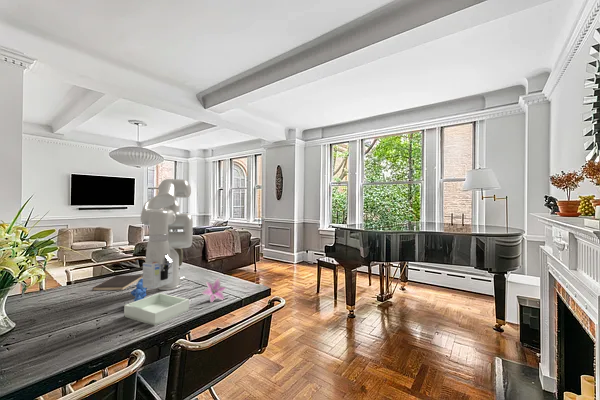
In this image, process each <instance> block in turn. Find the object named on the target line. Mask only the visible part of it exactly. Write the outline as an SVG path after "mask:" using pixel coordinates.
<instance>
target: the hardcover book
mask: <svg viewBox="0 0 600 400" xmlns="http://www.w3.org/2000/svg"><path fill="white" fill-rule="evenodd" d="M140 279H143V274H141V275H140V274H138V275H137V274H135V275H131V274H129V275H125V274H123V275H116V276H114V277H111V278H109V279H108V280H105V281H103V282H101V283H99V284H98V285H94V286H93V287H92V291H122V290H125V289H127V288H128V287H129V286H131V285H133V284H135V283H136V282H138V281H139V280H140Z"/></svg>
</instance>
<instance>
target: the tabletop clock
mask: <svg viewBox="0 0 600 400" xmlns="http://www.w3.org/2000/svg"><path fill="white" fill-rule="evenodd" d="M174 250H175V251H176V252H177V253H178V255H179V271H180V270H181V268H180V266H182V265H183V263H184V261H183V259H184V251H183V248H175V249H174Z"/></svg>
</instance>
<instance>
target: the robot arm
mask: <svg viewBox="0 0 600 400" xmlns="http://www.w3.org/2000/svg"><path fill="white" fill-rule="evenodd" d="M157 190H158V192H157V194H156V195H155V196H153V197H152V198H150V199H148V200H147V201H146V202H145V203H144V205H143V206H142V210H141V214H140V222H141V223H142V225H144V226H148V241H147V244H146V251H145V258H144V261H145V262H157V263H158V265H161V269H162V271H161V280H165V279H168V270H169V268H170V266H171V264H172V263H173V282H172V283H169V284H166V285H163V286H160V287H158V288H157V290H161V291H171V290H176V289H178V288H181V287H182V281H184V280H186V277H185V276H179V275H180V272H179V271H180V270H179V268H180V266H179V255H178V253H177V252H176V251H175V250H174V249H175V248H182V249H187V248H191V247H192V244H193V228H194V227H193V224H194V223H193V216H192V215H191V214H190V213H187V212H186V213H180V204H179V202H178V201H177V200H176V198H180V199H181V198H182V199H184V198H186V199H187V198H190V196H191V193H192V188H191V184H190V183H189V181H187V180H186V179H180V178H179V179H176V178H166V179H164V180H161V182H160V184H159V185H158V189H157ZM169 230H173V231H169ZM174 230H175V231H174ZM176 230H177V231H176ZM179 230H184V231H179ZM171 259H173V262H172V261H171ZM164 261H165V263H164ZM164 265H165V267H164Z"/></svg>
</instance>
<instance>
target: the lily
mask: <svg viewBox="0 0 600 400" xmlns="http://www.w3.org/2000/svg"><path fill="white" fill-rule="evenodd" d="M220 279H221V278H220V277H217V278H216V279H215V280H214V281H213V283H212V282H209V281H205V282H206V283H205V284H206V286H207V288H206V289H204V290H203V291H202V292H201V294H202V295H205V296H209V299H210V303H211V302H212V303H213V302H214V301H215V300H216V298H217V299H220V300H222V301H224V300H223V299H225V295H224V293H223V292H224V291H225V290H227V287H226V286H221V280H220ZM225 300H226V299H225Z"/></svg>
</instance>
